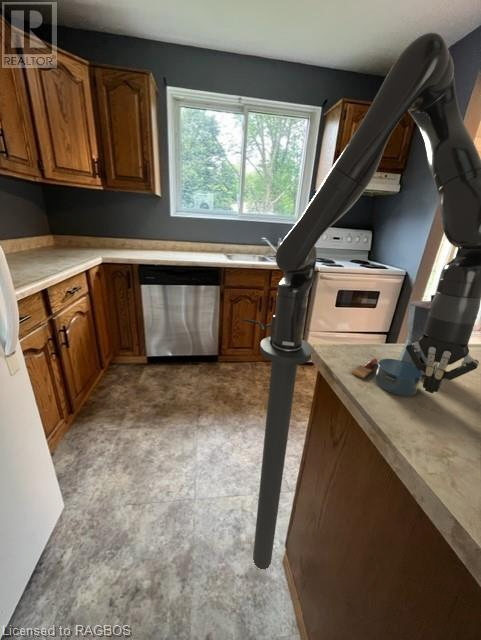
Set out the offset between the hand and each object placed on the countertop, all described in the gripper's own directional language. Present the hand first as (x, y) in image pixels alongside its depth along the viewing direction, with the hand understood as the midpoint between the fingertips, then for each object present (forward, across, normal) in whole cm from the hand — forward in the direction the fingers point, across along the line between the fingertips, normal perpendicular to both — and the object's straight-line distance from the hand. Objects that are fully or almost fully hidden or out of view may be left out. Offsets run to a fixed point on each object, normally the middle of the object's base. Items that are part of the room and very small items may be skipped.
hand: (429, 390), depth 59 cm
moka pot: (+2, +5, -13) cm, 14 cm away
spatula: (+1, +14, -2) cm, 15 cm away
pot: (+2, +7, 0) cm, 7 cm away
